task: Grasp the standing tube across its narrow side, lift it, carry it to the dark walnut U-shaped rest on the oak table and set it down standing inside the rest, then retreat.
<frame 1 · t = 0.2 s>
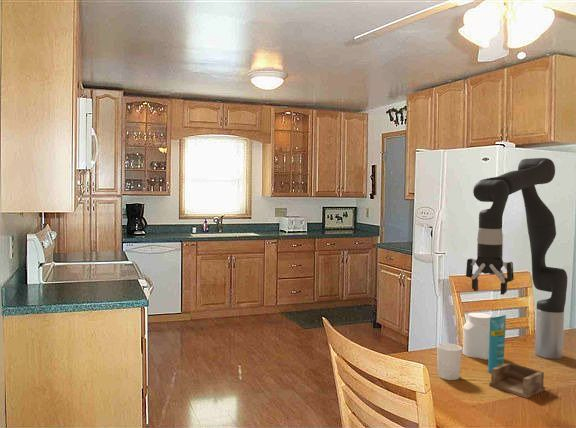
hand: (488, 292, 165), 29 cm above the table, fingers open, 8 cm apart
tube: (496, 372, 174), on the table
jar: (478, 355, 192), on the table
white cup: (448, 377, 169), on the table
u rest: (516, 387, 160), on the table
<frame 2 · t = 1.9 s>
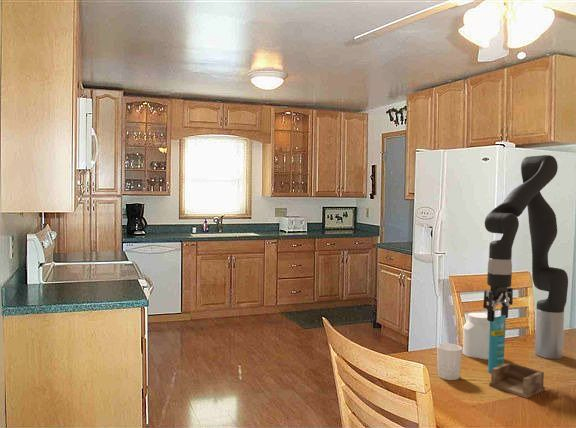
hand: (497, 319, 173), 18 cm above the table, fingers open, 8 cm apart
nothing on the table moved.
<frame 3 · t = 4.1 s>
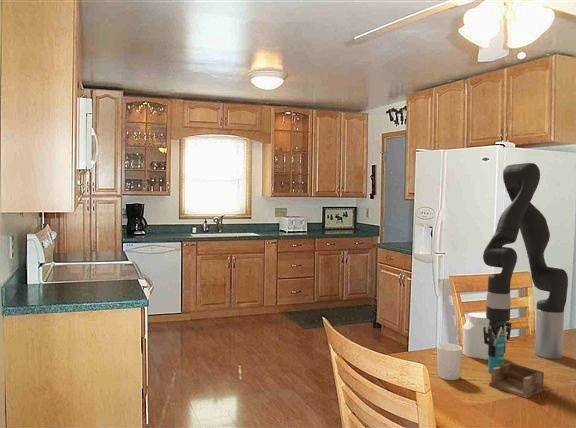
hand: (496, 354, 174), 6 cm above the table, fingers closed on tube, 5 cm apart
tube: (496, 372, 174), on the table, touching gripper
everything else where it was.
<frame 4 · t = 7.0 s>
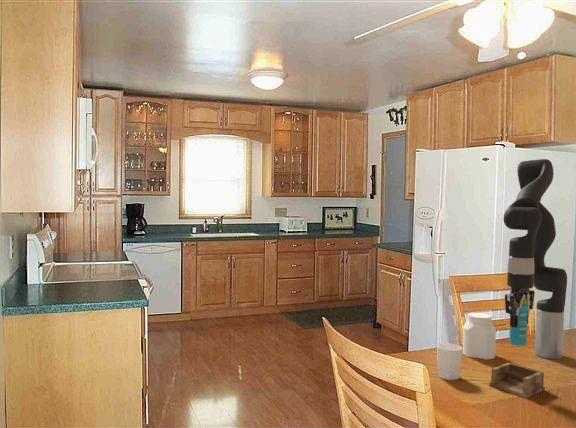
hand: (518, 325, 159), 20 cm above the table, fingers closed on tube, 5 cm apart
tube: (518, 344, 159), point 14 cm above the table, touching gripper
everything else where it was.
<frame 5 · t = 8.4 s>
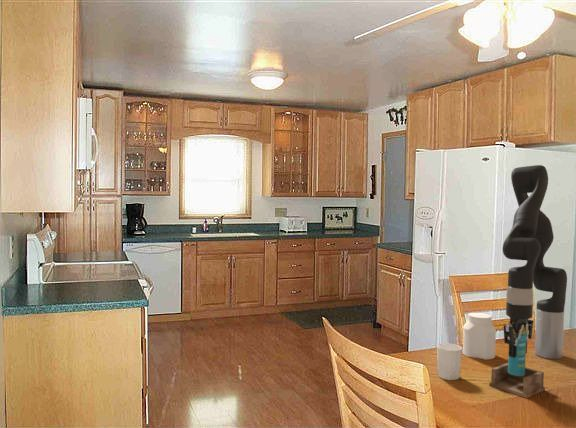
hand: (517, 354, 160), 10 cm above the table, fingers closed on tube, 5 cm apart
tube: (516, 374, 160), point 4 cm above the table, touching gripper
everything else where it was.
when the fingers open (8 cm above the table, at t = 9.9 s): tube drops 1 cm, resting on u rest.
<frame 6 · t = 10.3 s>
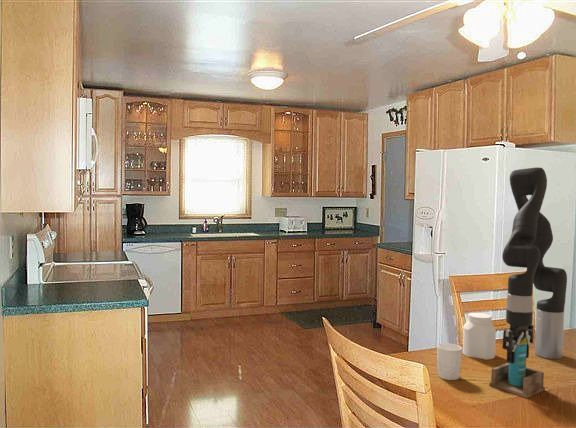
hand: (517, 360, 160), 9 cm above the table, fingers open, 8 cm apart
tube: (517, 384, 160), point 1 cm above the table, touching u rest
everything else where it was.
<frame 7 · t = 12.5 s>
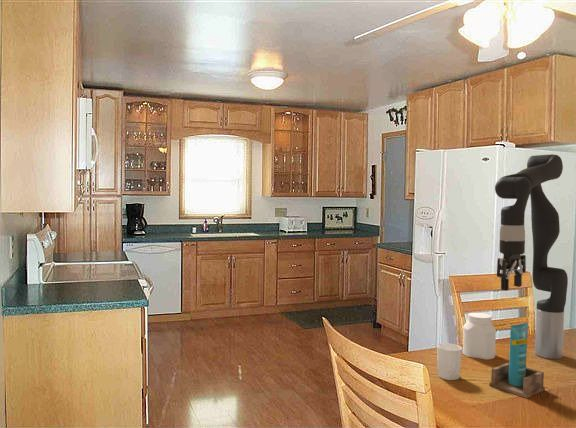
hand: (511, 288, 167), 30 cm above the table, fingers open, 8 cm apart
nothing on the table moved.
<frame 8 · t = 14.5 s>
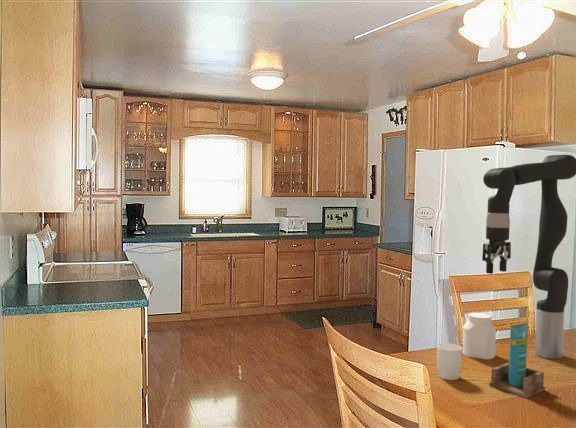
hand: (496, 272, 179), 33 cm above the table, fingers open, 8 cm apart
nothing on the table moved.
at the end: tube inside the target area on the u rest (0.7 cm from its centre), point 0.8 cm above the u rest's base; tube tilted 0°; the gripper is holding nothing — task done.
